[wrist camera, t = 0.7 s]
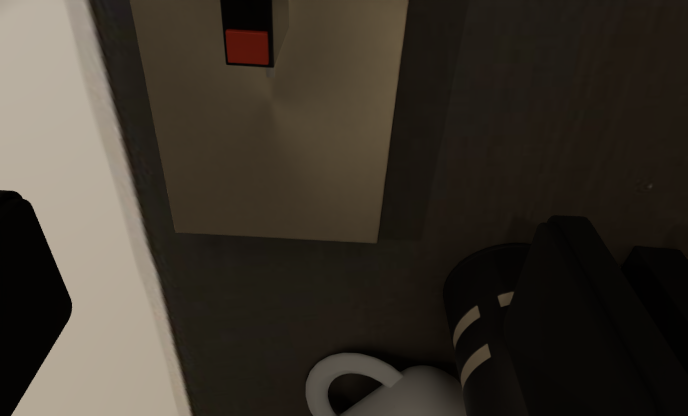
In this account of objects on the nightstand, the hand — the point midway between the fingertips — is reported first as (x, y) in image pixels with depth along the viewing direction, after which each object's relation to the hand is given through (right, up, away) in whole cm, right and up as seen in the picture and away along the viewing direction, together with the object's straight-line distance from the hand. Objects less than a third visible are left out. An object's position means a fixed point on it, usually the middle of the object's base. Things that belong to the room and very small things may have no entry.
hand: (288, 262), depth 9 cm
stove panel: (-2, +9, +14) cm, 16 cm away
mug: (+4, -13, +30) cm, 33 cm away
